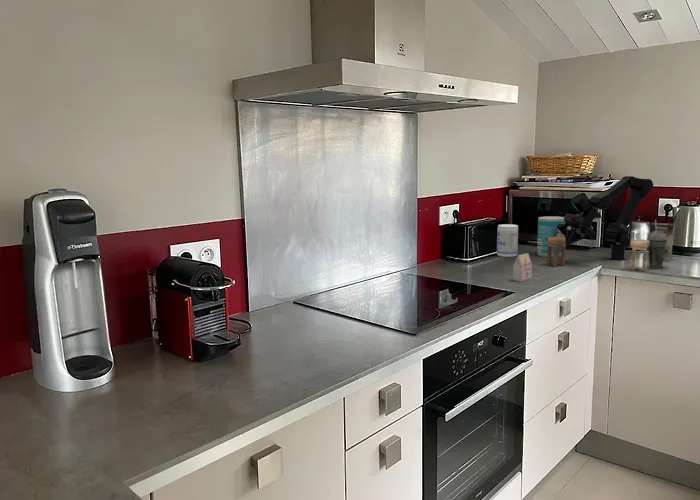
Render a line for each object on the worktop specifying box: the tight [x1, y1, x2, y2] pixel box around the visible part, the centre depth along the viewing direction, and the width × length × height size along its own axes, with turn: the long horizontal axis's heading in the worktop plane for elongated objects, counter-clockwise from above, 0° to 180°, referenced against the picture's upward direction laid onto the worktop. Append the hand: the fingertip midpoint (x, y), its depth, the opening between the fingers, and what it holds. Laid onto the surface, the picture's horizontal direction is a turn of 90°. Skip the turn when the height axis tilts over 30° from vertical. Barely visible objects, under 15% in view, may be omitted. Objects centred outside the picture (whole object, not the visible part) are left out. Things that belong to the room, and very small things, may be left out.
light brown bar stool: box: [629, 238, 650, 272], centre depth 230 cm, size 7×7×12 cm
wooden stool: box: [546, 236, 567, 268], centre depth 243 cm, size 7×7×12 cm
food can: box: [536, 215, 566, 258], centre depth 266 cm, size 12×12×18 cm
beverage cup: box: [646, 219, 667, 270], centre depth 231 cm, size 7×7×20 cm
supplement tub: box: [496, 223, 519, 258], centre depth 269 cm, size 10×10×15 cm
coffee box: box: [647, 222, 675, 262], centre depth 249 cm, size 9×6×16 cm
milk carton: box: [512, 252, 533, 283], centre depth 217 cm, size 4×7×10 cm, turn 128°
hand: (564, 245), depth 244 cm, fingers closed
